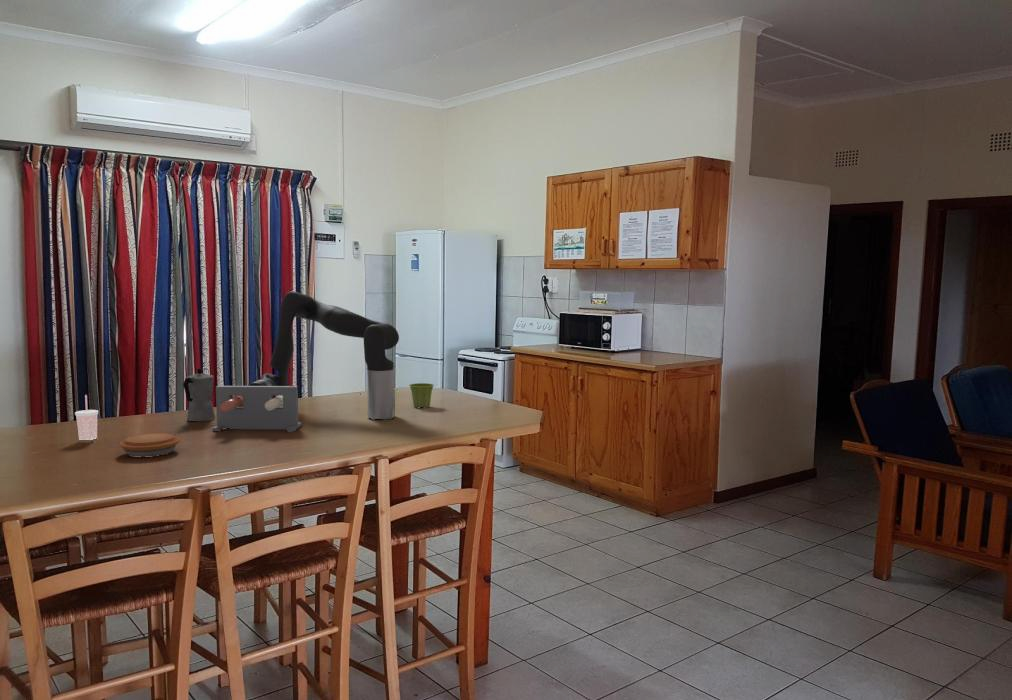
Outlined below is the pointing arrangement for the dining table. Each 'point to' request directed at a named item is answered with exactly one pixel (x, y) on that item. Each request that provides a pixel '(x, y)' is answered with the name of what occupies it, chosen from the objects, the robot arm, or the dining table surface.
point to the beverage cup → (87, 423)
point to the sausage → (232, 403)
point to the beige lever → (274, 403)
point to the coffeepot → (199, 396)
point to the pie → (149, 444)
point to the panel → (258, 408)
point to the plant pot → (421, 394)
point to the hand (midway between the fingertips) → (242, 399)
